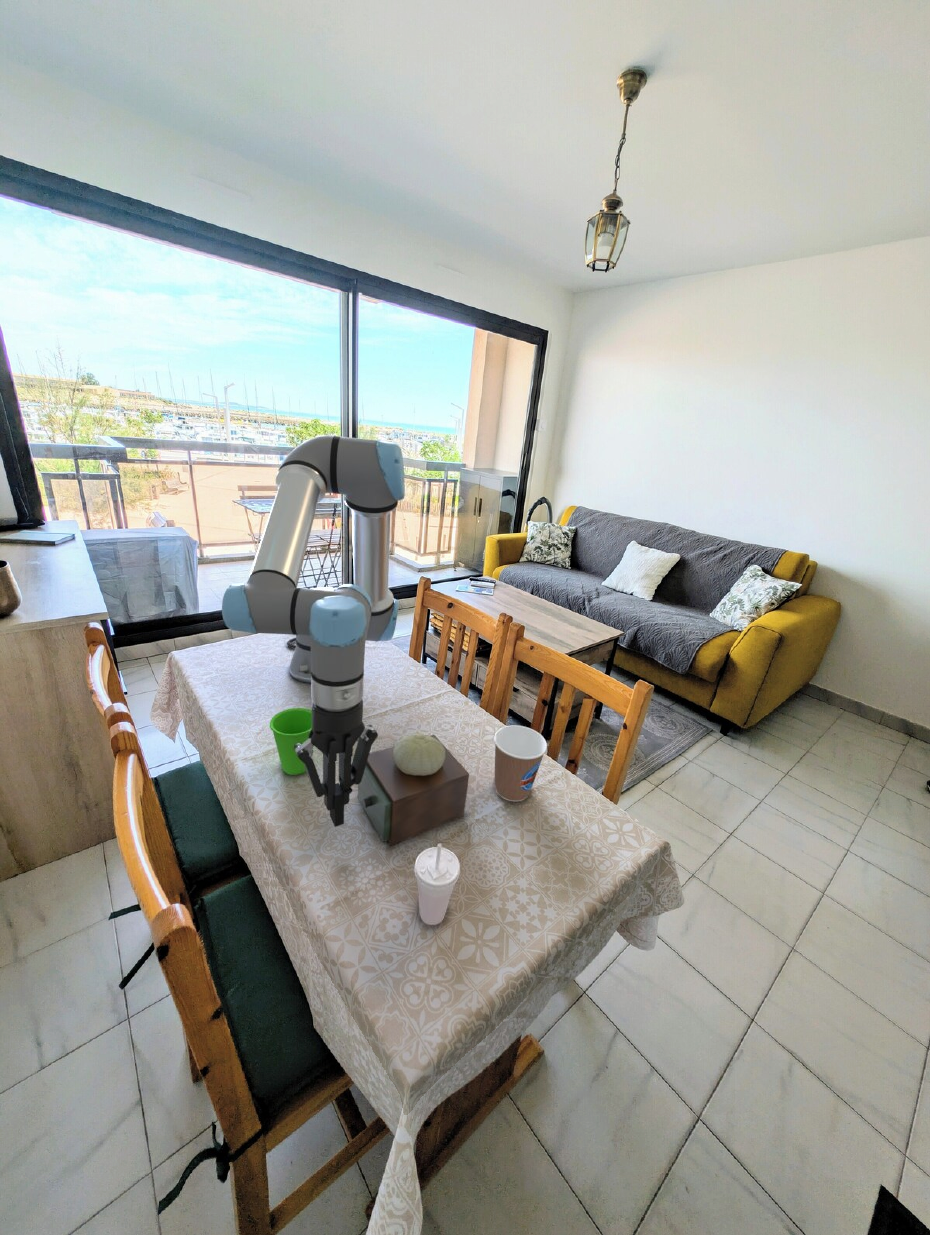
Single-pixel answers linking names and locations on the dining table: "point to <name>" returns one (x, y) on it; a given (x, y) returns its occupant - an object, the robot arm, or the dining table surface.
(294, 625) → the robot arm
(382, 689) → the dining table surface
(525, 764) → the coffee cup
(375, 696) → the dining table surface
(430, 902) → the smoothie
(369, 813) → the drawer
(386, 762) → the cabinet
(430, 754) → the sea urchin shell
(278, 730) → the cup
